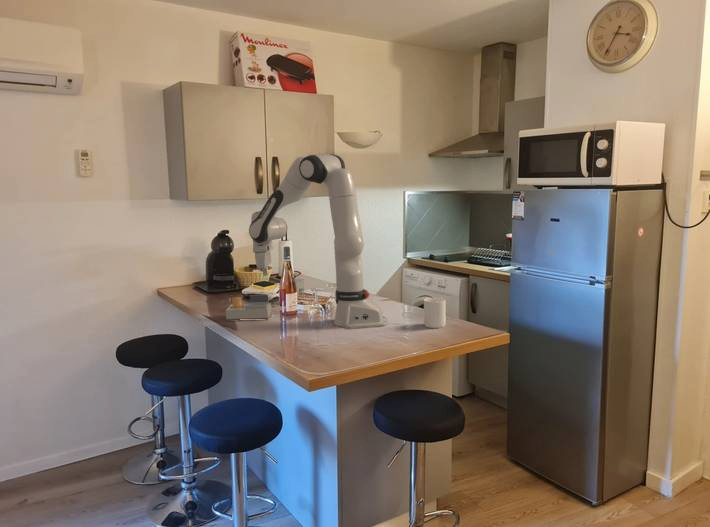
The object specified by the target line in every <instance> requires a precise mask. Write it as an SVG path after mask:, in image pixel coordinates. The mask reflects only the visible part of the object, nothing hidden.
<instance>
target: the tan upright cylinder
mask: <svg viewBox="0 0 710 527" xmlns="http://www.w3.org/2000/svg"><path fill="white" fill-rule="evenodd" d="M231 300H232V301H231V302H232V304H233V308H242V304H243V302H242V297H241V296H237V297H232V298H231Z"/></svg>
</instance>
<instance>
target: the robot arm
mask: <svg viewBox="0 0 710 527" xmlns="http://www.w3.org/2000/svg"><path fill="white" fill-rule="evenodd" d="M311 183H316V184H318V185H319V184H320V185H321V184H322V183H323V184H325V186H326V188H327V189H328V190H327V191H328V199H329V207H330V215H331V216H330V217H331V221H332V227H333V233H334V234H333V235H334V239H333V245H334V261H335V263H334V264H335V278H336V279H335V280H336V281H335V283H336V285H335V286H336V290H335V296H334V297H335V298H334V299H335V304H336V305H335V306H336V307H335V317H334V319H333V324H334V325H336V326H338V327H344V328H345V329H350V330H351V329H362V328H373V327H374V328H375V327H384V326H386V325H388V323H389V321H388V319H387V317H386V316H385V315H383V312H382V308H381V307H380V306H379V305H378V303H376V302H374V301H373V300H371V299H370V298H369V297H370V292H369V291H368V290H367V289H365V288H364V276H363V275H364V272H363V263H362V252H363V250H364V237H363V230H362V225H361V222H360V214H359V208H358V201H357V200H358V199H357V191H356V186H355V182H354V178H353V176H352V173H351V171H350V170H348V169H347V168H346V164H345V161H344V159H343V158H342V157H341V156H339V155H338V154H325V153H317V154H309V155H307V156H298V157H296V159H295V160H294V161H293V162H292V163H291V165H290V167H289V168H288V170H287V172H286V174H285V176H284V178H283V180H282V181H281V183H280V184H279V186H277V188H276V189H275V190H274V191H273V192H272V193H271V195H270V196H269V198H268V199H267V201H266V202H265V204H264V205H263V207H262V209H261V210H259V211H255V212H253V213H252V214H251V217H250V218H251V220H250V221H251V222H250V225H249V228H248V233H249V236H250V238H251V239H252V246H253V247H252V252H253V253H254V259H255V265H256V268H257V270H261V272H262V276H263V277H267V276H268V273H269V267H268V266H269V265H270V264H272V255H271V254H272V253H271V250H273V241H274V240H275V241H276V240H280V239H282V238H284V237H285V236H286V235H287V233H288V225H287V222H286V220H284V219H283V218H281V217H277V216H276V215H277V213H278V212H279V211H280V210H281V209H282V208H284V207H286V206H288V205H291V204H293V203H295V202H298V201H301V200H302V199H303V197H304V196H305V195H306V194H307V192H308V190H309V188H310V186H311Z"/></svg>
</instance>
